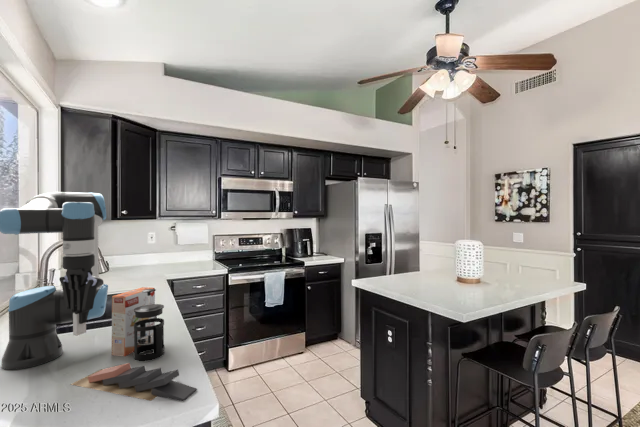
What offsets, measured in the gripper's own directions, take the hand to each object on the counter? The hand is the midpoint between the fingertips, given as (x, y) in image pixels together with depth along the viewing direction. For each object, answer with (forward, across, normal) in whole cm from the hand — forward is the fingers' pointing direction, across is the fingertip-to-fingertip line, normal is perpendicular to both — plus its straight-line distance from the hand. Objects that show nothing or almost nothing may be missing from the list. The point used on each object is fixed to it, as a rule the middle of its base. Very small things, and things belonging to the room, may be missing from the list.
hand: (79, 333), depth 93 cm
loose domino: (+11, +8, -1) cm, 13 cm away
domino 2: (+11, +19, -1) cm, 22 cm away
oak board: (+13, +18, -1) cm, 22 cm away
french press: (+13, +11, +15) cm, 23 cm away
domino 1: (+11, +13, -1) cm, 17 cm away
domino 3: (+11, +24, -1) cm, 27 cm away
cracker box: (+14, 0, +19) cm, 24 cm away
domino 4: (+10, +30, -1) cm, 32 cm away
